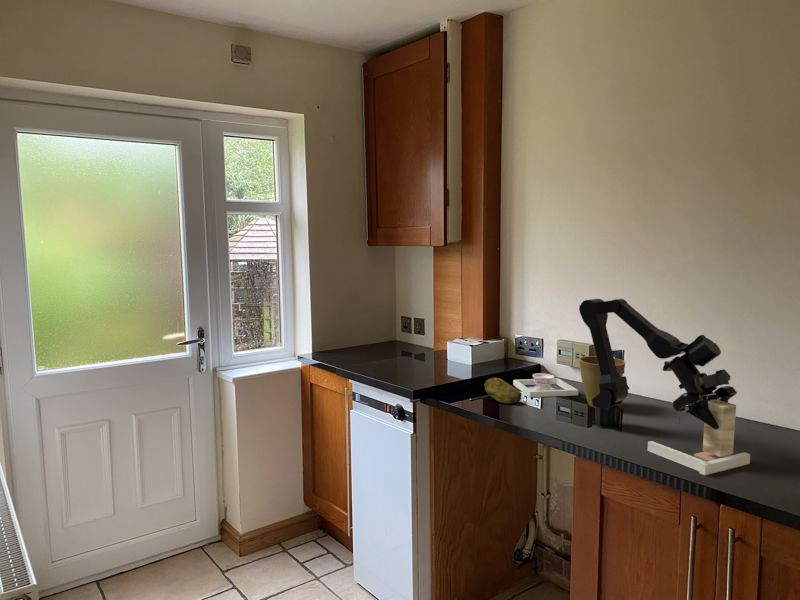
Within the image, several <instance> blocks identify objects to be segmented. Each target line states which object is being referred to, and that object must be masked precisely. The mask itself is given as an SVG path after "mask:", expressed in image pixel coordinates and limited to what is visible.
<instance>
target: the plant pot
mask: <svg viewBox="0 0 800 600" xmlns="http://www.w3.org/2000/svg"><path fill="white" fill-rule="evenodd" d="M614 361H615V365H616V369H617V372H618V373H619V375H620V376H621V377H623V376H624V371H625V368H626V367H625V366H626V361H625V360H623V359H620V358H615V357H614ZM579 369H580V375H581V376H580V377H581V381H582V387H583V391H584V395H585V397H586V401H587V404H588V406H589V407H591V408H594V409H595V407H594V406H593V403H592V399H593V398H594V397H595V396H597V395H598V394H599V382H600V377H601V373H600V369H599V365H598V361H597V357H596V355H590V356H589V355H588V356H582V357H580V358H579Z"/></svg>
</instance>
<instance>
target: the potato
mask: <svg viewBox="0 0 800 600" xmlns="http://www.w3.org/2000/svg"><path fill="white" fill-rule="evenodd" d="M483 385H484V390H485V391H486V393H487V394H488V395H489V396H490V397H491V398H492V399H494V400H495V401H496V402H498V403H502V404H517V403H519V402H520V401H521V400H522V394H521V391H520V390H519V389H518V388H517V387H515V386H512V384H510V383H508V382H506V381H505V380H503V379H501V378H498V377H490V378H489V379H487V380H485V383H484V384H483Z"/></svg>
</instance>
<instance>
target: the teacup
mask: <svg viewBox="0 0 800 600" xmlns="http://www.w3.org/2000/svg"><path fill="white" fill-rule="evenodd" d="M554 378H556V377H555V375H553V374H550V373H544V372H543V373H542V372H541V373H533V374H532V379H534V382H535V384H536V385H535V386H530V387H528V388H529V389H530V390H531V391H544V390H558V389H557V388H554V387H551V385H552V384H551V382H552V380H553V379H554Z"/></svg>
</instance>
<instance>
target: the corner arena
mask: <svg viewBox="0 0 800 600" xmlns="http://www.w3.org/2000/svg"><path fill="white" fill-rule="evenodd" d="M647 452H650V453H652V454H655V455H656V456H659V457H662V458H665V459H667V460H670V461H673V462H675V463H678V464H680V465H682V466H685V467H687V468H690V469H692V470H695V471H697V472H698V473H699V474H700V475H703V476H708V475H713V474H715V473H720V472H724V471H726V470H731V469H734V468H735V469H736V468H739V467H742V466H746V465H750V463H751V453H748V452H746V451H745V452H740V453H736V454H730V455H725V456H721V457H719V456H717V455H714V454H711V453H708V452H706V451H701V452H698V453H693V455H690V454H688V453H684V452H682V451H680V450H676V449H675V448H672V447H669V446H666V445H663V444H662V443H658V442H656V441H653V440H651V441H647Z"/></svg>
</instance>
